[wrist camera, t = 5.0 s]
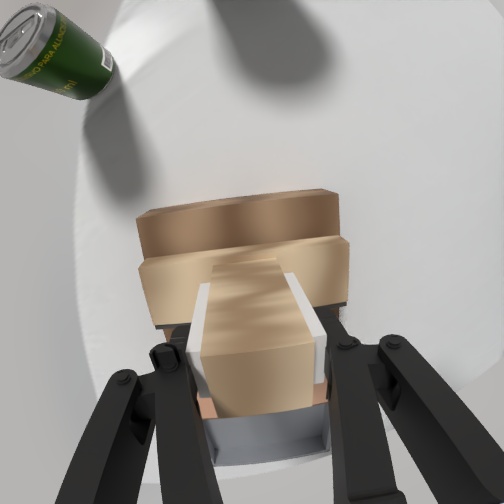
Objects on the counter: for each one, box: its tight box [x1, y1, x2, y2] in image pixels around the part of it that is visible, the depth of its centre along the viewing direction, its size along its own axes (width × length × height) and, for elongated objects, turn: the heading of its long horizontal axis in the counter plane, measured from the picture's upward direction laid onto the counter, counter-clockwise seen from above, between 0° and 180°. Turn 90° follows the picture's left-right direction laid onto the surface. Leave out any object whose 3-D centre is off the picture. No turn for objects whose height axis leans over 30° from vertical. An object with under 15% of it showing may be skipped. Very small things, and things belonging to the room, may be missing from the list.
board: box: [136, 189, 340, 420], centre depth 25 cm, size 15×22×4 cm
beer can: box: [0, 3, 114, 100], centre depth 13 cm, size 5×5×12 cm
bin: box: [202, 403, 331, 467], centre depth 31 cm, size 17×13×4 cm
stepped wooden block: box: [138, 235, 349, 419], centre depth 15 cm, size 14×5×11 cm, turn 96°
